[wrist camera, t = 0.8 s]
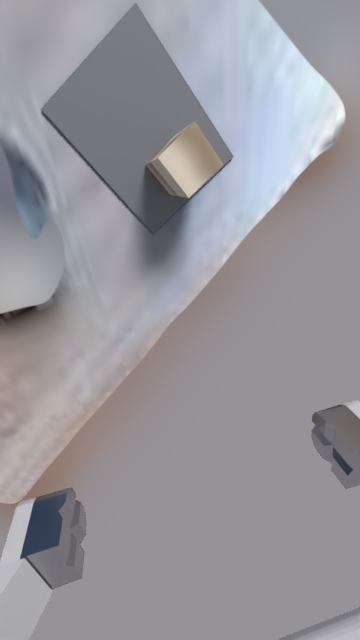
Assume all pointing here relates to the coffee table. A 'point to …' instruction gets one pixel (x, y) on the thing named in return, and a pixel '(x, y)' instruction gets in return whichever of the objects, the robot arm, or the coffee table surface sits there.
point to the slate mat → (130, 115)
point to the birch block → (185, 162)
